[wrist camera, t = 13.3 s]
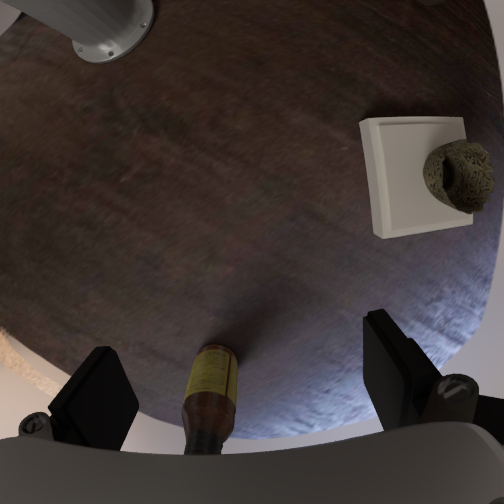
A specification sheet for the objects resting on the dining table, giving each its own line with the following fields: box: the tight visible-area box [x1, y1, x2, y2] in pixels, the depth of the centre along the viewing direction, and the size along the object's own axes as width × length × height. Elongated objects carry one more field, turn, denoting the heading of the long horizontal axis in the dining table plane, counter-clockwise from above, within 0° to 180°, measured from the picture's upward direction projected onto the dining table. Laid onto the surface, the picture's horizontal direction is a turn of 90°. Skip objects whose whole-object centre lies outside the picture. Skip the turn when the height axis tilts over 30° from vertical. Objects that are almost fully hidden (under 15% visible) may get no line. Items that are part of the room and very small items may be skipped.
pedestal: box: [359, 117, 473, 239], centre depth 33 cm, size 14×14×4 cm
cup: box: [422, 139, 495, 214], centre depth 28 cm, size 8×7×8 cm
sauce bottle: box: [182, 344, 238, 455], centre depth 33 cm, size 7×6×20 cm
